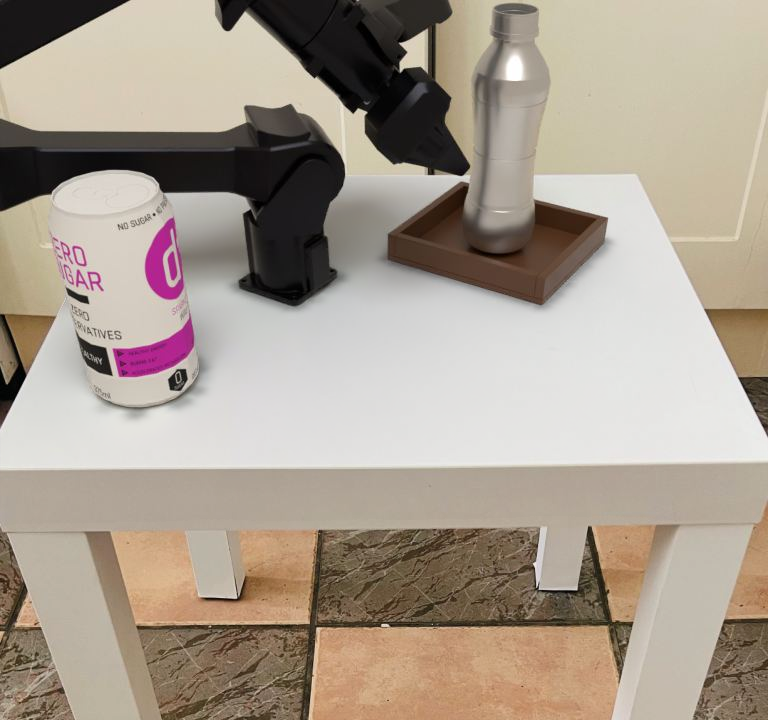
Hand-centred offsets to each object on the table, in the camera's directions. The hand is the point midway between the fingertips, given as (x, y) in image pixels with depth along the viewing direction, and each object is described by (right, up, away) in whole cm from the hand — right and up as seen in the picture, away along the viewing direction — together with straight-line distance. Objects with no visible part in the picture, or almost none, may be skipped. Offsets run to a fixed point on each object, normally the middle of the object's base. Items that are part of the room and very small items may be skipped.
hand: (447, 150), depth 78 cm
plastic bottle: (+5, -6, +8) cm, 11 cm away
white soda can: (-24, -21, -7) cm, 32 cm away
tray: (+5, -6, +8) cm, 11 cm away
